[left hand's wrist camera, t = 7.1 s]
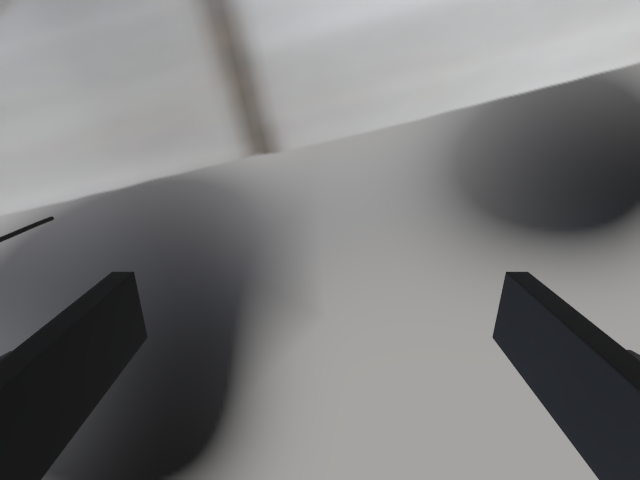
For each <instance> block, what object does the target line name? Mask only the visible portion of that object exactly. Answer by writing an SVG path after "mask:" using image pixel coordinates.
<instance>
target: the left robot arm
mask: <svg viewBox="0 0 640 480" xmlns="http://www.w3.org/2000/svg"><path fill="white" fill-rule="evenodd" d="M52 220H54V217H52V216H51V217H48V218H45V219H43V220H40V221H38V222H35V223H33V224H30V225H28V226H26V227H23V228H21V229H18V230H16V231H14V232H11V233H9V234H6V235H4V236H1V237H0V242H2V241H5V240H7V239H10V238H12V237H14V236H16V235H19V234H21V233H23V232H26V231H28V230H30V229H33V228H35V227H37V226H40V225H42V224H45V223H47V222H50V221H52ZM146 339H147V333H146V328H145V323H144V318H143V314H142V309H141V304H140V299H139V294H138V290H137V285H136V280H135V275H134V272H111V273H110V274H109V275H108V276H106V277H105V278H104V279H103V280H101V281H100V282H99V283H98V284H96V285H95V286H94V287H93V288H91V289H90V290H89V291H87V292H86V293H85V294H84V295H82V296H81V297H80V298H79V299H77V300H76V301H75V302H74V303H72V304H71V305H70V306H69V307H67V308H66V309H65V310H64V311H62V312H61V313H60V314H59V315H57V316H56V317H55V318H54V319H52V320H51V321H50V322H49V323H47V324H46V325H45V326H43V327H42V328H41V329H40V330H38V331H37V332H36V333H35V334H33V335H32V336H31V337H30V338H28V339H27V340H26V341H25V342H23V343H22V344H21V345H20V346H18V347H17V348H16V349H14V350H13V351H10V352H8V353H6V354H4V355H2V356H0V480H41V479H42V478H43V476H44V475H45V474H46V472H47V471H48V470H49V468H50V467H51V465H52V464H53V463H54V461H55V460H56V459H57V457H58V456H59V455H60V454H61V452H62V451H63V450H64V448H65V447H66V445H67V444H68V443H69V441H70V440H71V439H72V437H73V436H74V435H75V433H76V432H77V431H78V429H79V428H80V427H81V425H82V424H83V423H84V421H85V420H86V419H87V417H88V416H89V415H90V413H91V412H92V411H93V409H94V408H95V407H96V405H97V404H98V403H99V401H100V400H101V399H102V397H103V396H104V395H105V393H106V392H107V391H108V389H109V388H110V387H111V385H112V384H113V383H114V381H115V380H116V379H117V377H118V376H119V375H120V373H121V372H122V371H123V369H124V368H125V367H126V365H127V364H128V363H129V361H130V360H131V359H132V357H133V356H134V355H135V353H136V352H137V351H138V349H139V348H140V347H141V345H142V344H143V343H144V341H145V340H146ZM493 339H494V340H495V341H496V343H497V344H498V345H499V347H500V348H501V349H502V351H503V352H504V353H505V355H506V356H507V357H508V359H509V360H510V361H511V363H512V364H513V365H514V367H515V368H516V369H517V371H518V372H519V373H520V375H521V376H522V377H523V379H524V380H525V381H526V383H527V384H528V385H529V387H530V388H531V389H532V391H533V392H534V393H535V395H536V396H537V397H538V399H539V400H540V401H541V403H542V404H543V405H544V407H545V408H546V409H547V411H548V412H549V413H550V415H551V416H552V417H553V419H554V420H555V421H556V423H557V424H558V425H559V427H560V428H561V429H562V431H563V432H564V433H565V435H566V436H567V437H568V439H569V440H570V441H571V443H572V444H573V445H574V447H575V448H576V450H577V451H578V452H579V453H580V455H581V456H582V458H583V459H584V460H585V461H586V463H587V464H588V466H589V467H590V468H591V469H592V471H593V472H594V474H595V475H596V476H597V478H598V479H599V480H640V355H639V354H637V353H635V352H633V351H631V350H626V349H624V348H623V347H622V346H621V345H619V344H618V343H617V342H615V341H614V340H613V339H612V338H610V337H609V336H608V335H607V334H605V333H604V332H603V331H601V330H600V329H599V328H598V327H597V326H595V325H594V324H593V323H592V322H590V321H589V320H588V319H587V318H585V317H584V316H583V315H581V314H580V313H579V312H578V311H576V310H575V309H574V308H573V307H571V306H570V305H569V304H568V303H566V302H565V301H564V300H563V299H561V298H560V297H559V296H558V295H556V294H555V293H554V292H552V291H551V290H550V289H549V288H547V287H546V286H545V285H544V284H542V283H541V282H540V281H539V280H537V279H536V278H535V277H534V276H532V275H531V274H530V273H529V272H506V275H505V280H504V285H503V289H502V294H501V299H500V304H499V309H498V314H497V318H496V323H495V328H494V333H493Z"/></svg>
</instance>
